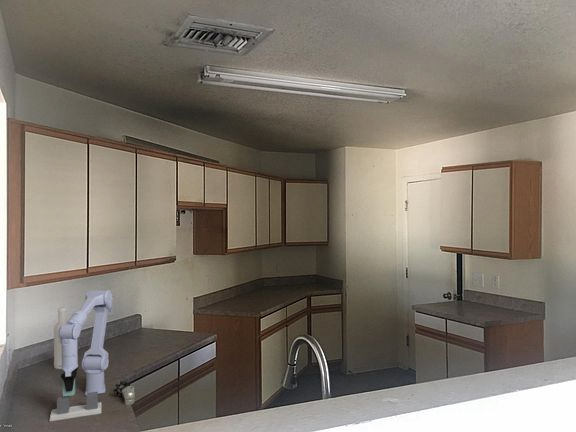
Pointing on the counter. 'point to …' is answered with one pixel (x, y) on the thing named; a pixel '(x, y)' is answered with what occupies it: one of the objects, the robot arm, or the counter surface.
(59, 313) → the bottle
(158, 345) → the counter surface
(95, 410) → the rail plate
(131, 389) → the valve
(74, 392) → the block
